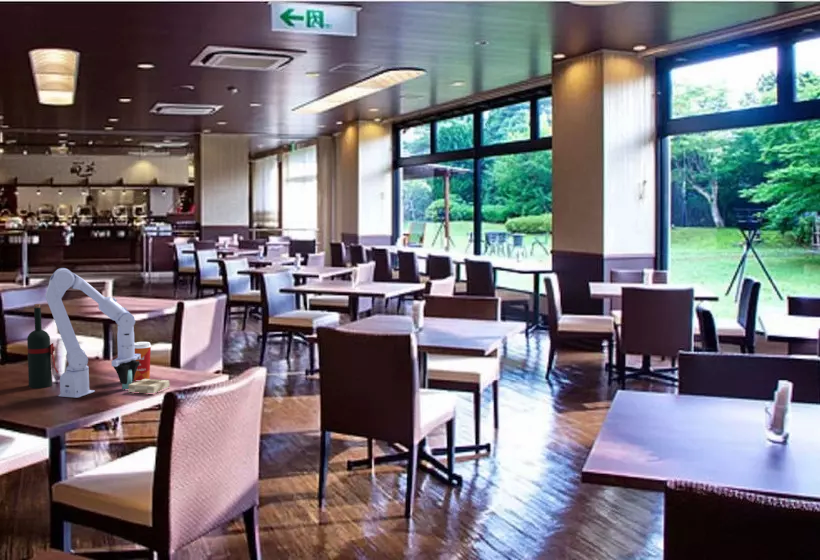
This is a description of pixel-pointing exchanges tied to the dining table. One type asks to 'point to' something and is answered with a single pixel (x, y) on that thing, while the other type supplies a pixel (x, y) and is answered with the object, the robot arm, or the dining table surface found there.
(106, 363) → the dining table surface
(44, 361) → the wine bottle
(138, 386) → the socket block
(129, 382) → the peg
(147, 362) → the paper cup
